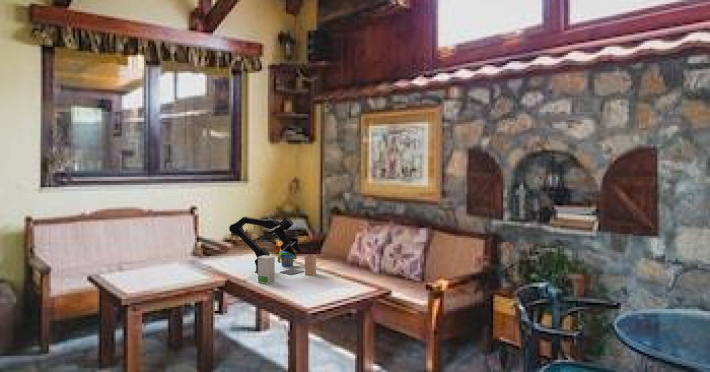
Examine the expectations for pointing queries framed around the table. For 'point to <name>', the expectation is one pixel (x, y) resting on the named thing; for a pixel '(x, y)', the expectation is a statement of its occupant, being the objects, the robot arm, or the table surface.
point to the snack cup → (286, 258)
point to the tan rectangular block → (310, 265)
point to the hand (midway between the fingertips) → (298, 253)
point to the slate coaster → (292, 271)
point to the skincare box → (266, 269)
